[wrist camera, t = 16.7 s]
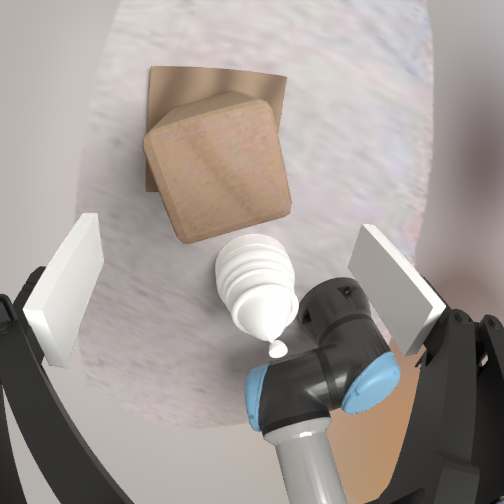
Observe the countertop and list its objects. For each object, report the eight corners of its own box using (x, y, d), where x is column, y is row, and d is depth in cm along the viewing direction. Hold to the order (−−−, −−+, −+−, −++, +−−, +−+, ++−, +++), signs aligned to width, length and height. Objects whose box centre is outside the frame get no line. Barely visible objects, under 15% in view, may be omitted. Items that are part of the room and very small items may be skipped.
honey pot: (298, 274, 56) (330, 348, 41) (236, 304, 58) (250, 382, 43) (269, 220, 49) (301, 292, 34) (200, 256, 51) (204, 336, 36)
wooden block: (188, 175, 41) (179, 251, 25) (166, 110, 36) (135, 137, 19) (256, 156, 41) (296, 218, 25) (239, 88, 36) (272, 97, 19)
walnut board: (284, 76, 37) (286, 76, 36) (266, 192, 46) (268, 196, 45) (153, 67, 34) (151, 66, 32) (147, 187, 43) (146, 191, 42)
